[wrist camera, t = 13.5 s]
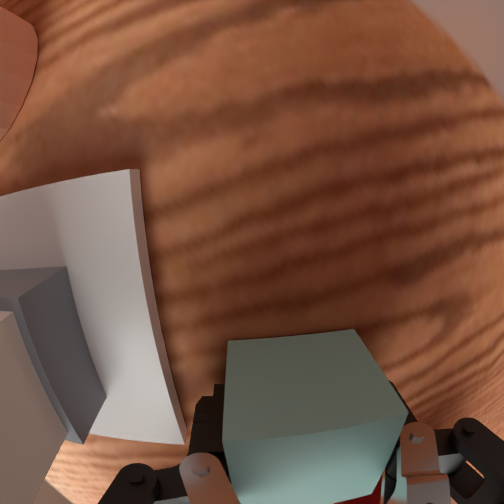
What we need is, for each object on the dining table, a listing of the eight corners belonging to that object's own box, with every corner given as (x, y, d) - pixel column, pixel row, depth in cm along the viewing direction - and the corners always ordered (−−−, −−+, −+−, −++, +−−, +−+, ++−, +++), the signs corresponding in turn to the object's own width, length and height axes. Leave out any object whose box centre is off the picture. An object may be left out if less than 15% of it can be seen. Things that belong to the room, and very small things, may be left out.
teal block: (353, 328, 11) (408, 411, 6) (341, 414, 12) (371, 494, 8) (227, 340, 11) (222, 440, 6) (238, 425, 12) (239, 513, 8)
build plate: (139, 169, 9) (83, 169, 6) (186, 429, 13) (176, 494, 9) (-48, 212, 9) (-100, 228, 5) (13, 401, 12) (-15, 439, 8)
